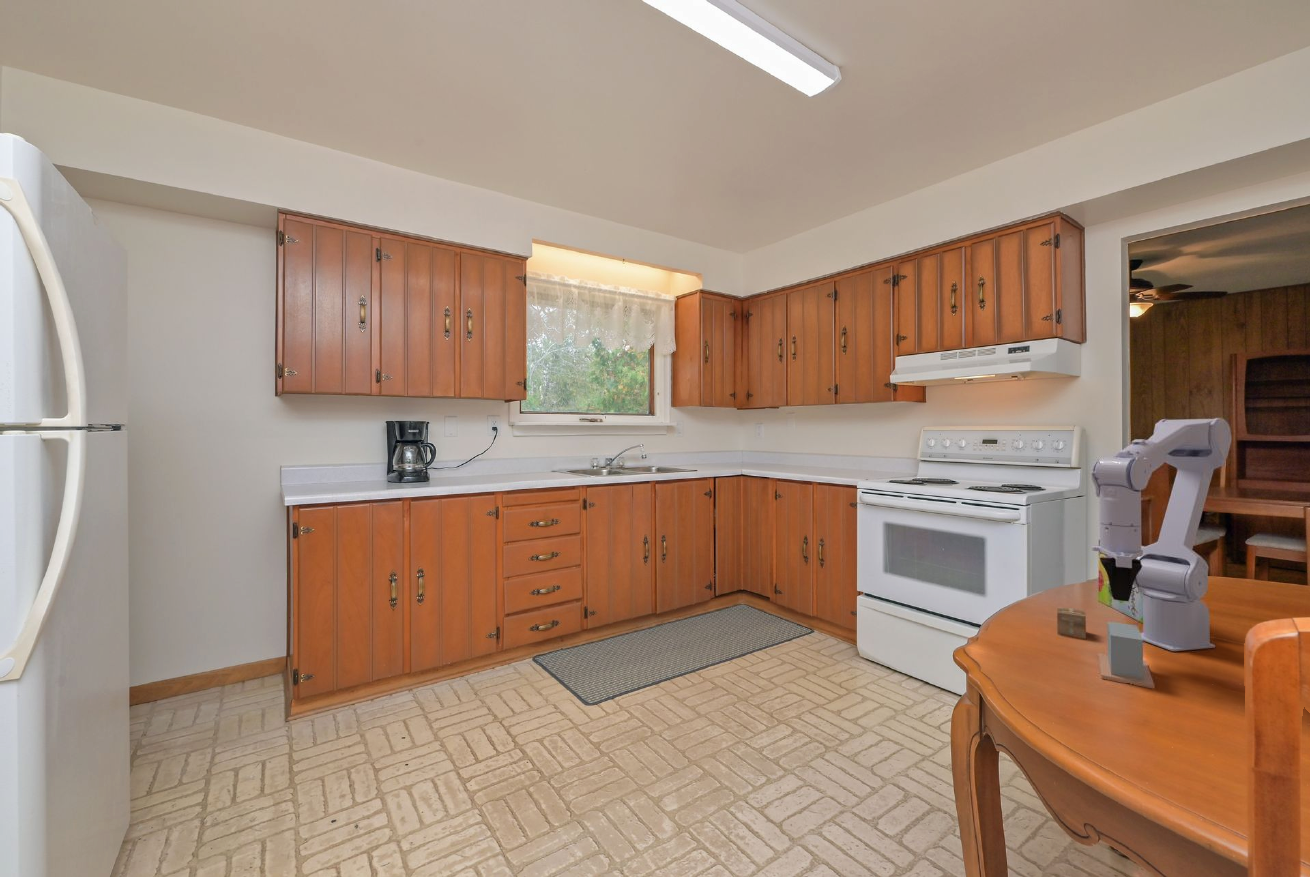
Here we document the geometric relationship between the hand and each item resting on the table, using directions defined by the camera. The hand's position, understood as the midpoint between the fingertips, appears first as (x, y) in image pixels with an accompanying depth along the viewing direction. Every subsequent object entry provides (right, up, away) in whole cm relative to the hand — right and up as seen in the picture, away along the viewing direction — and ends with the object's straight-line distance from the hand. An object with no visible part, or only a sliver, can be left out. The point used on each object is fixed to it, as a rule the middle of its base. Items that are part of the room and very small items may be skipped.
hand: (1120, 599), depth 100 cm
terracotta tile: (-4, -11, -6) cm, 13 cm away
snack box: (+22, -10, +22) cm, 33 cm away
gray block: (-4, -10, -6) cm, 12 cm away
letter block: (0, -10, +12) cm, 16 cm away
